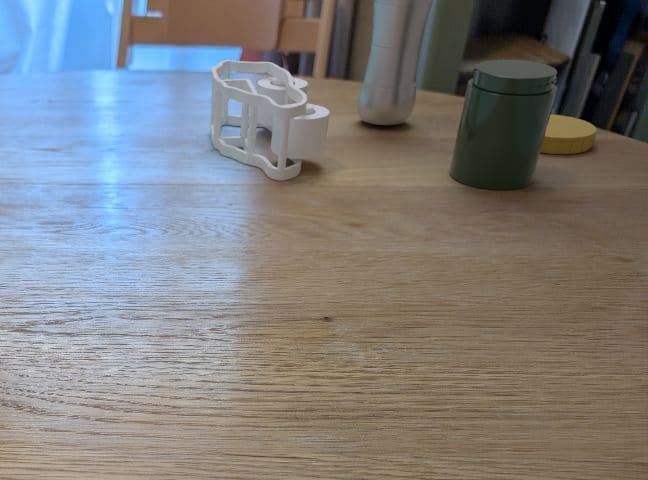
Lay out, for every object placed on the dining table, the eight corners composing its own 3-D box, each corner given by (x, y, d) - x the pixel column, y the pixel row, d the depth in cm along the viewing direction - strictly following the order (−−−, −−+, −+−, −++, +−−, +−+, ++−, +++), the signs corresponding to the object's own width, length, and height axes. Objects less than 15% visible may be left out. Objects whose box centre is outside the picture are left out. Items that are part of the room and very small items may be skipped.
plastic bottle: (343, 119, 104) (368, -68, 92) (392, 112, 105) (422, -72, 94) (372, 134, 99) (402, -61, 87) (423, 127, 100) (459, -65, 89)
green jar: (531, 166, 89) (559, 61, 83) (534, 193, 83) (564, 82, 76) (450, 159, 91) (472, 56, 85) (447, 185, 85) (470, 76, 79)
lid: (490, 139, 96) (494, 123, 95) (538, 125, 100) (542, 109, 99) (560, 160, 90) (564, 143, 89) (608, 144, 94) (613, 127, 93)
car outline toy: (331, 179, 87) (341, 106, 83) (224, 182, 87) (228, 109, 83) (294, 120, 104) (301, 57, 99) (204, 123, 104) (206, 60, 99)
